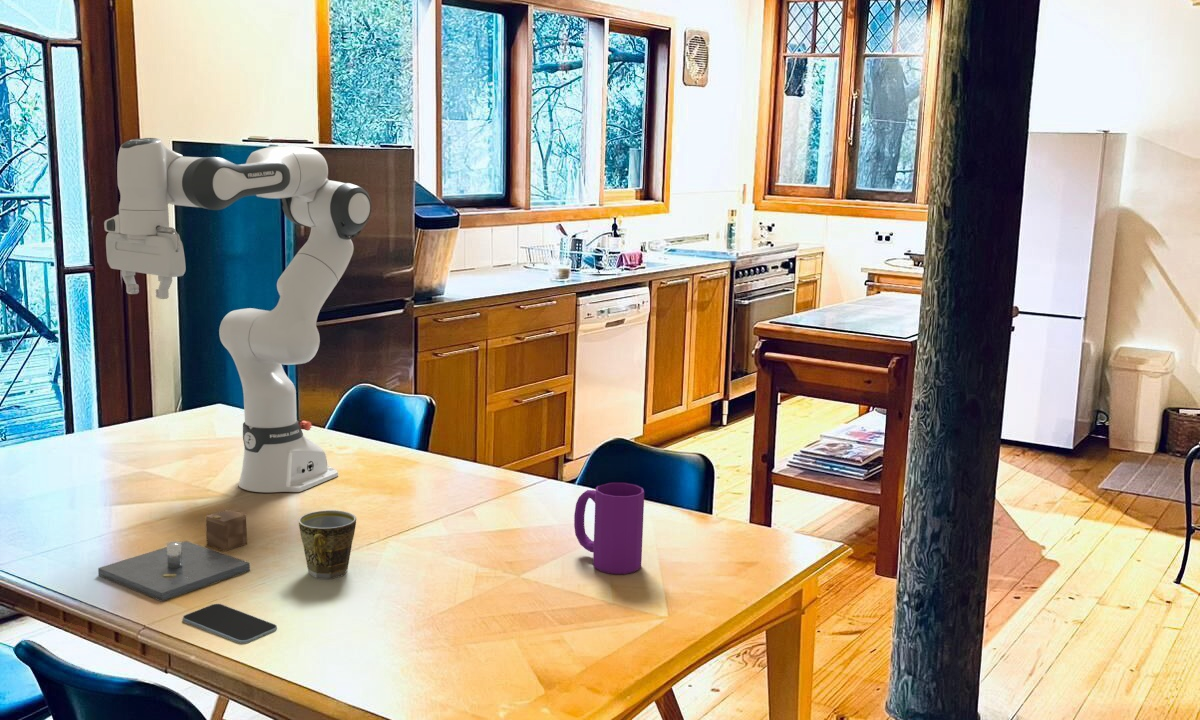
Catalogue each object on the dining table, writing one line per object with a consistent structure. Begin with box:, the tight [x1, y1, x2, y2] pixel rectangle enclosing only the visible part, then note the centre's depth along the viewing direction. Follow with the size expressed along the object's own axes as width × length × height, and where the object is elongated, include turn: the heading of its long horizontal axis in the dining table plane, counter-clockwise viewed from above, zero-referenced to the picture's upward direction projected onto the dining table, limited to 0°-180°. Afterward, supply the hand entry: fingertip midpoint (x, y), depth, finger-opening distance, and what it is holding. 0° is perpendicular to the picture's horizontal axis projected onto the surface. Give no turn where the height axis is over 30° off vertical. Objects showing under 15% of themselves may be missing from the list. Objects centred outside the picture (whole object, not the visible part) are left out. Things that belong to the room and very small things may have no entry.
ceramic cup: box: [298, 509, 357, 580], centre depth 204 cm, size 13×10×10 cm
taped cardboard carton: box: [205, 509, 248, 552], centre depth 217 cm, size 5×5×6 cm
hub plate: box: [98, 540, 251, 602], centre depth 202 cm, size 18×18×6 cm
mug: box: [573, 482, 645, 575], centre depth 214 cm, size 9×16×15 cm, turn 47°
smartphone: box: [182, 603, 278, 644], centre depth 183 cm, size 7×1×15 cm
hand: (147, 296), depth 222 cm, fingers open, 8 cm apart
